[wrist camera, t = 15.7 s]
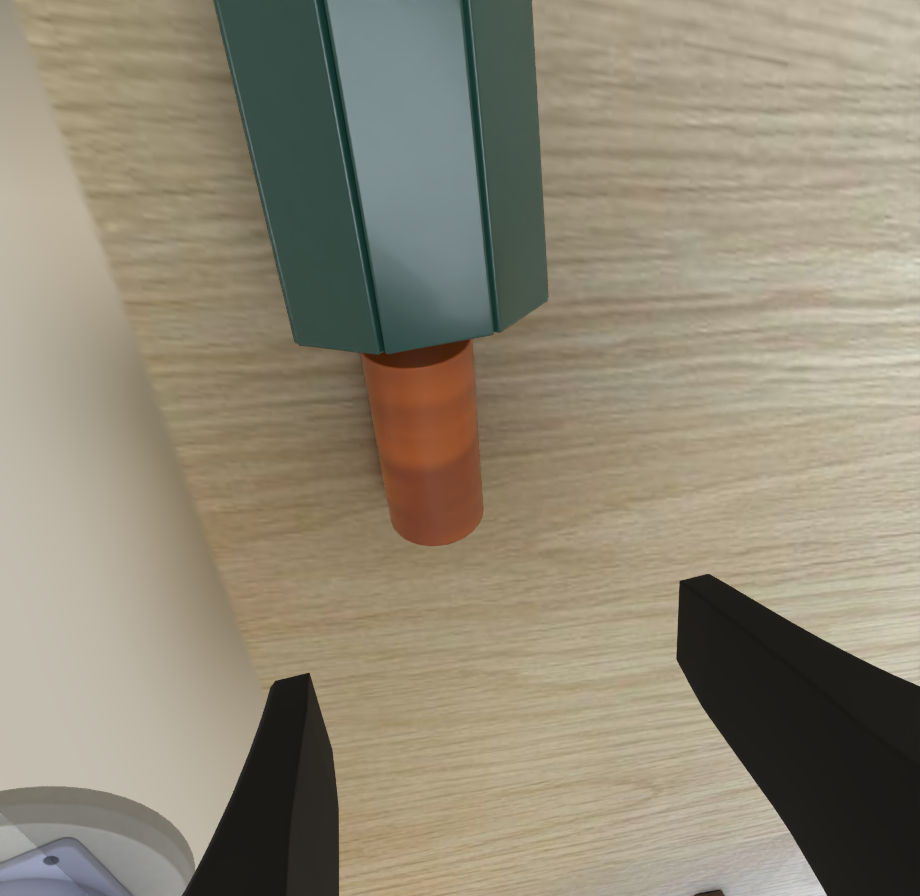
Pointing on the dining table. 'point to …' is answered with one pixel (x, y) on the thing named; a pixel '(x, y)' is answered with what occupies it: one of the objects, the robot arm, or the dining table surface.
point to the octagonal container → (394, 164)
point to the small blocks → (712, 894)
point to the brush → (428, 440)
